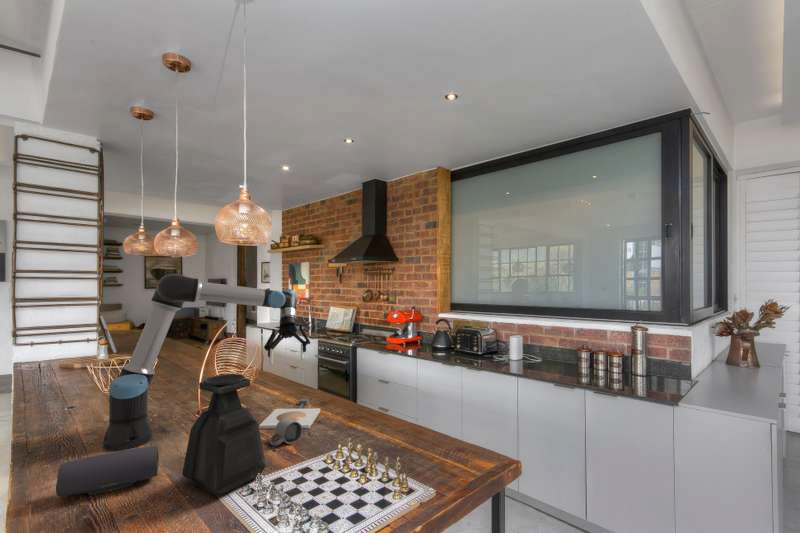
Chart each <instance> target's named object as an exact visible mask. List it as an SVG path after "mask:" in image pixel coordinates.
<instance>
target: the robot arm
mask: <svg viewBox="0 0 800 533" xmlns="http://www.w3.org/2000/svg"><path fill="white" fill-rule="evenodd" d="M150 301H151V304H152V308H151V310H150V312H149V315H148V318H147V320H146V322H145V324H144V327H143V328H142V331H141V333H140V336H139V338H138V340H137V343H136V346H135V348H134V350H133V353H132V354H131V357H130V359H129V361H128V363H126V364H124V365H123V366H122V368H121V370H120V371H119V375H118V377H116V378H114V379H113V380H111V381H110V383H109V388H108V393H109V398H108V399H109V407H108V408H109V409H108V410H109V411H108V412H109V413H108V415H109V416H108V418H109V420H108V422H109V423H108V426H107V429H106V432H105V435H104V437H103V439H102V448H103V450H106V451H123V450H129V449H134V448H137V447H139V446H142V445H144V444H146V443H147V442H150V441H151V440H152V439H153V437H154V436H153V434H154V431H153V429H152V426H151V424H150V421H149V418H148V394H149V390H150V386H151V384H152V381H153V379H154V376H155V374H156V371H155V370H154V366H155V363H156V361H157V358H158V356H159V353H160V351H161V348H162V346H163V344H164V341H165V339H166V337H167V334H168V332H169V329H170V327H171V324H172V322H173V319H174V317H175V315H176V312H179V311H180V310H182V308H183V305H184V304H185V303H186V302H187V303H188V302H189V303H196V302H198V301H202V302H203V301H204V302H205V301H206V302H213V303H223V304H224V303H225V304H235V305H246V306H254V307H255V306H256V307H265V308H272V309H279V313H280V314H279V328H278V329H274V328H273V329H272V330H271V333H270V336H269V338H268V340H267V341H266V343H265V345H264V346H263V349H264V350H265V351H266V352H267V357H268V358H269V361H268V362H269V364H270V365H271V366H273V365H274V359H275V358H274V356H275V353H274V352H275V351H274V349H275V348H276V347H277V346H278V345H279V343H280V342H281V341H282V340H284V339H291V338H292V337H294V338H295V339H296V340H297V341H298V342H299V343H300V359H301V360H302V361H304V360H305V353H306V352H307V346H308V345H310V344H311V341H310V340H309V338H308V336H307V335H306V333H305V331H304V327H303V325H302V324H300V325H299V326H297V313H298V312H297V306H298V295H297V292H296V290H294V289H291V288H289V289H284V290H282V291H280V290H274V289H273V290H272V289H271V290H270V289H265V288H254V287H249V286H239V285H231V284H224V283H223V284H222V283H215V282H207V281H201V279H200V278H196V277H190V276H187V275H186V276H185V275H182V274H180V273H168V274H166V275H164V276H162V277H161V278H160V279H159V281H158V282H157V285H156V288H155V290H154V292H153V295H152V297H151V300H150ZM297 331H299V332H300V333H301V334H302V337H303V338H304V339H303V338H301V337H300V335H298V334H297Z"/></svg>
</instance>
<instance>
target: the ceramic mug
mask: <svg viewBox="0 0 800 533" xmlns="http://www.w3.org/2000/svg"><path fill="white" fill-rule="evenodd" d="M274 429H275V431H274V432H275V433H274V434H273V435H272V436H271V437H270V438H269V440H268V441H269V444H270V445H271V446H272V447H276V446H279V445H280V444H281V443H285V444H288V445H294V444H296V443H297V442H298V441H299V440H300V439H301V437H302V434H303V428H302V426H301V424H300V423H299V422H297V421H294V420H291V419H282V420H281V421H279V422H278V424H277V425H276V428H274ZM277 438H278V439H277ZM276 439H277V440H276ZM274 440H275V441H274Z"/></svg>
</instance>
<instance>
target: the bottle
mask: <svg viewBox="0 0 800 533" xmlns="http://www.w3.org/2000/svg"><path fill="white" fill-rule="evenodd" d="M198 386H199V387H198V389H199V390H202V391H206V392H208V393H209V392H210V393H212V394H211V398H210V401H209V404H208V406H207V410H204V411H202V412H201V414H200V415H199V417H198V418H197V419H196V420H195V421H194V423H193V425H192V426H191V427H190V432H189V437H188V442H187V446H186V452H185V458H184V463H183V468H182V476H183V477H184V478H186V479H187V480H188V481H189V482H191V483H192V484H193V485H196V486H197V487H199V488H201V489H203V490H205V491H207V492H209V493H211V494H213V495H215V496H217V497H218V496H221V495H224V494H226V493H228V492H230V491H232V490H234V489H235V488H238V487H239V486H242V485H244V484H246V483H248V482H250V481H251V480H253V479H256V478H257V477H258V476H257V475H258V473H260V475H261V474H262V473H263V471H264V470H265V469H266V467H267V464H266V463H267V462H266V457H265V453H264V448H263V443H262V438H261V431H260V429H259V422H258V421H257V420H256V419H255V417H254V415H252V413H251V412H250V410H249V409H248V408H245V407H243V406H242V404H241V399H240V397H239V394H238V391H239V390H241V389H244V388H247V387H250V386H251V379H249V378H246V377H245V376H244V375H243V374H239V373H238V374H237V373H227V374H218V375H214V376H210V377H208V378H206V379H204V380H203V381H200V382H199V384H198Z"/></svg>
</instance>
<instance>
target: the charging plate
mask: <svg viewBox="0 0 800 533" xmlns="http://www.w3.org/2000/svg"><path fill="white" fill-rule="evenodd" d="M309 404H310V398H300V399H299V400H298V406H299V407H298V408H275V409H274V410H273V411H271V413H270V414H269V415H268V416H267V417H266V418H265V419H264V420H263V421H262V422H261V423H260V424H258V426H259V430H260V429H261V430H262V429H265V430H266V429H272V430H273V429H275V428H276V425H277V424H278V422H279V421H281V420H282V419H291V420H294V421H297V422H299V423H300V424H301V426H302V429H310V427H311V426H312V424H314V421H315V420H316V418H317V417H318V416H319V414H320V412H321V408H316V407H315V408H303V406H308V405H309Z"/></svg>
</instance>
